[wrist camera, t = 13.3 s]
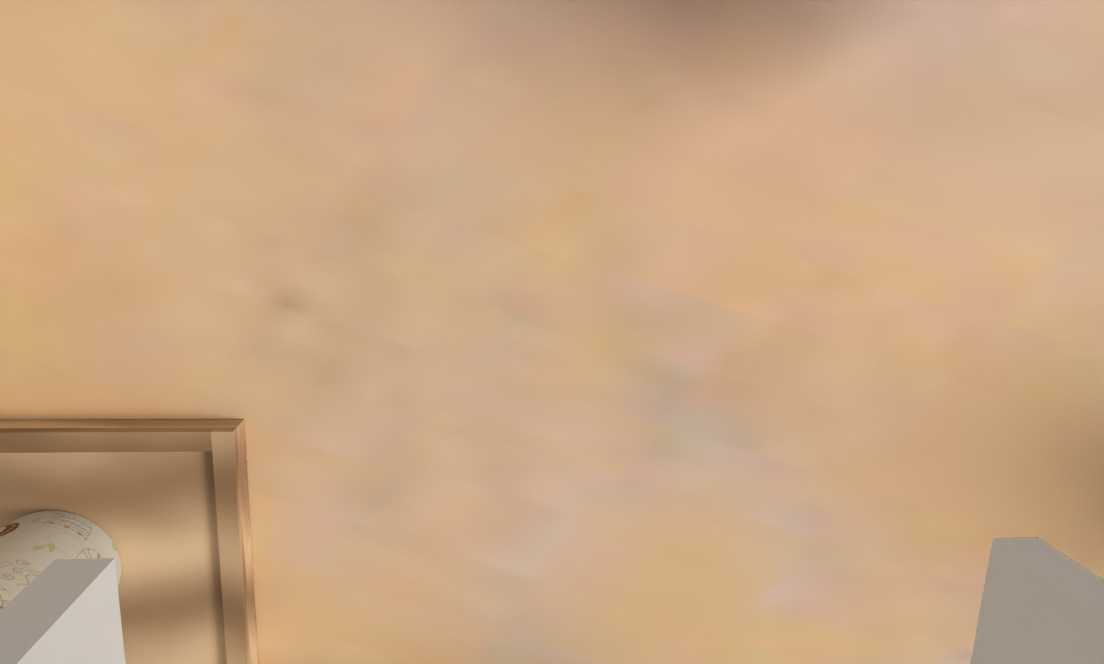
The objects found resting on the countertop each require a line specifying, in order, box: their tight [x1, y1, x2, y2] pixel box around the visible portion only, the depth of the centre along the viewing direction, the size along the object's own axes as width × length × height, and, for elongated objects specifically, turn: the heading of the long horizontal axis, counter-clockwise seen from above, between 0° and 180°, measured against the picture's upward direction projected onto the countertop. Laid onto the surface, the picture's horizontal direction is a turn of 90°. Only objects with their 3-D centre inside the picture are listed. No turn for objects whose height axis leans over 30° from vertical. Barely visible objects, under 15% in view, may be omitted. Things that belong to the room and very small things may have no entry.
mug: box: [0, 511, 121, 610], centre depth 32 cm, size 8×13×10 cm, turn 30°
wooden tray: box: [0, 419, 258, 664], centre depth 37 cm, size 18×18×2 cm
